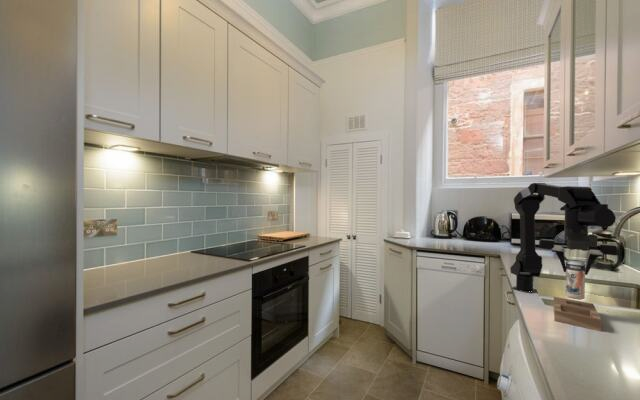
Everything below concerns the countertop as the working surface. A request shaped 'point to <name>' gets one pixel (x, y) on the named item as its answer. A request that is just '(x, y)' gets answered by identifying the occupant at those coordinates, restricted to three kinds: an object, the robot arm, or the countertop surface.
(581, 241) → the robot arm
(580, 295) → the beer can
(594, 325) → the socket board
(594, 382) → the countertop surface
